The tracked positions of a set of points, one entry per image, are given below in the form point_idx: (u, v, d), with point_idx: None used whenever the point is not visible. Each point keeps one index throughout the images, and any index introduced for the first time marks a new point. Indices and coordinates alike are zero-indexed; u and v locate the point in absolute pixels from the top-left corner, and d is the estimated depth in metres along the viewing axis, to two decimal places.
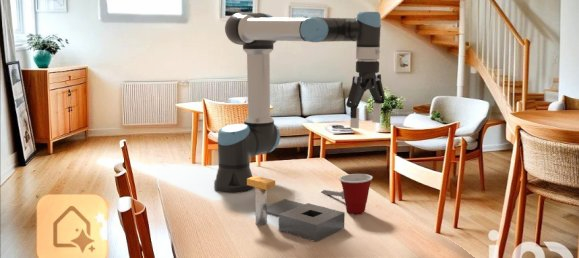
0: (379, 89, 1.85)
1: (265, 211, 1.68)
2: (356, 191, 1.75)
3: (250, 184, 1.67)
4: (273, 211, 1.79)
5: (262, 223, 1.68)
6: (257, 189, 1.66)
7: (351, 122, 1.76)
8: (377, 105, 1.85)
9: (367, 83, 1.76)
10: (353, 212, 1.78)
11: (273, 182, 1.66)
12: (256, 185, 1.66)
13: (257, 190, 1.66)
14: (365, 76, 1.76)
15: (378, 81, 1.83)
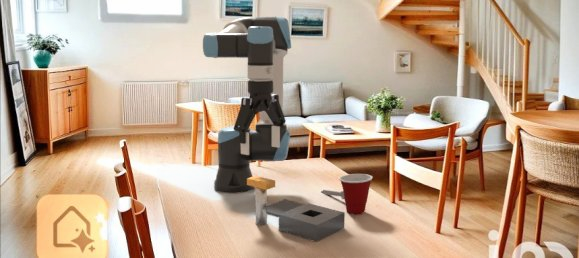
0: (277, 111, 1.68)
1: (265, 211, 1.68)
2: (356, 191, 1.75)
3: (250, 184, 1.67)
4: (273, 211, 1.79)
5: (262, 223, 1.68)
6: (257, 189, 1.66)
7: (241, 148, 1.60)
8: (276, 128, 1.69)
9: (259, 105, 1.60)
10: (353, 212, 1.78)
11: (273, 182, 1.66)
12: (256, 185, 1.66)
13: (257, 190, 1.66)
14: (256, 97, 1.60)
15: (275, 102, 1.67)
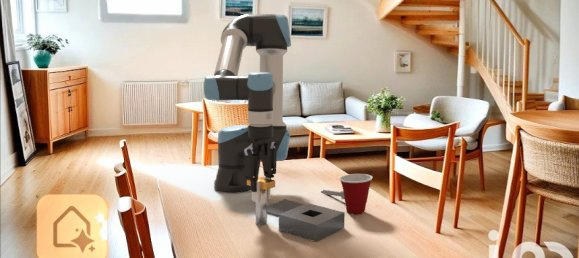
0: (272, 159, 1.69)
1: (265, 211, 1.68)
2: (356, 191, 1.75)
3: (250, 184, 1.67)
4: (273, 211, 1.79)
5: (262, 223, 1.68)
6: None
7: (252, 195, 1.66)
8: None
9: (260, 151, 1.63)
10: (353, 212, 1.78)
11: (273, 182, 1.66)
12: None
13: None
14: (255, 142, 1.62)
15: (273, 149, 1.69)
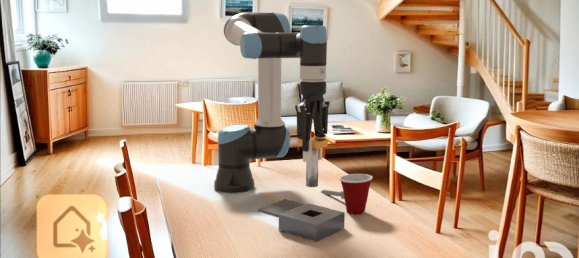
0: (323, 118, 1.62)
1: (317, 172, 1.60)
2: (356, 191, 1.75)
3: (301, 144, 1.60)
4: (273, 211, 1.79)
5: (313, 185, 1.60)
6: None
7: (304, 156, 1.59)
8: None
9: (313, 108, 1.55)
10: (353, 212, 1.78)
11: (326, 141, 1.58)
12: None
13: None
14: (308, 99, 1.54)
15: (325, 108, 1.61)
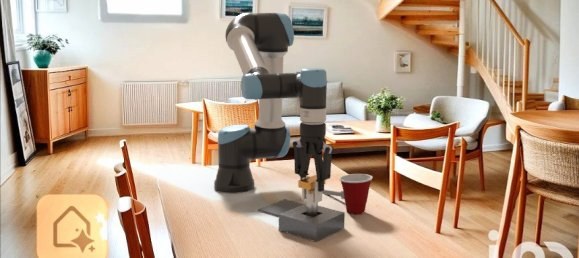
0: None
1: (308, 212, 1.62)
2: (356, 191, 1.75)
3: None
4: (273, 211, 1.79)
5: None
6: None
7: None
8: None
9: (303, 148, 1.60)
10: (353, 212, 1.78)
11: (307, 184, 1.58)
12: None
13: None
14: (301, 138, 1.61)
15: None
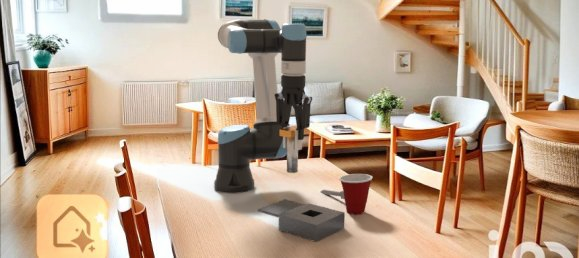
0: None
1: (289, 159, 1.73)
2: (356, 191, 1.75)
3: None
4: (273, 211, 1.79)
5: (287, 169, 1.75)
6: None
7: None
8: None
9: (284, 99, 1.71)
10: (353, 212, 1.78)
11: (287, 132, 1.69)
12: None
13: None
14: (282, 89, 1.71)
15: None
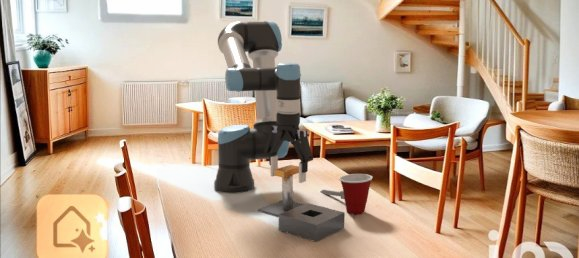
0: None
1: (284, 198, 1.79)
2: (356, 191, 1.75)
3: None
4: (273, 211, 1.79)
5: None
6: None
7: None
8: None
9: (278, 134, 1.76)
10: (353, 212, 1.78)
11: (282, 172, 1.75)
12: None
13: None
14: (278, 126, 1.77)
15: None
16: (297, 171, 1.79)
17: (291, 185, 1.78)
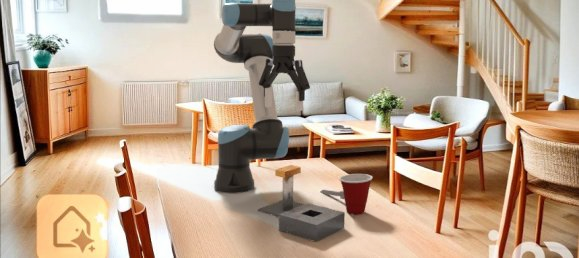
0: None
1: (284, 198, 1.79)
2: (356, 191, 1.75)
3: None
4: (273, 211, 1.79)
5: None
6: None
7: None
8: None
9: (274, 66, 1.82)
10: (353, 212, 1.78)
11: (282, 172, 1.74)
12: None
13: None
14: (275, 59, 1.82)
15: None
16: (298, 171, 1.79)
17: (292, 185, 1.78)
